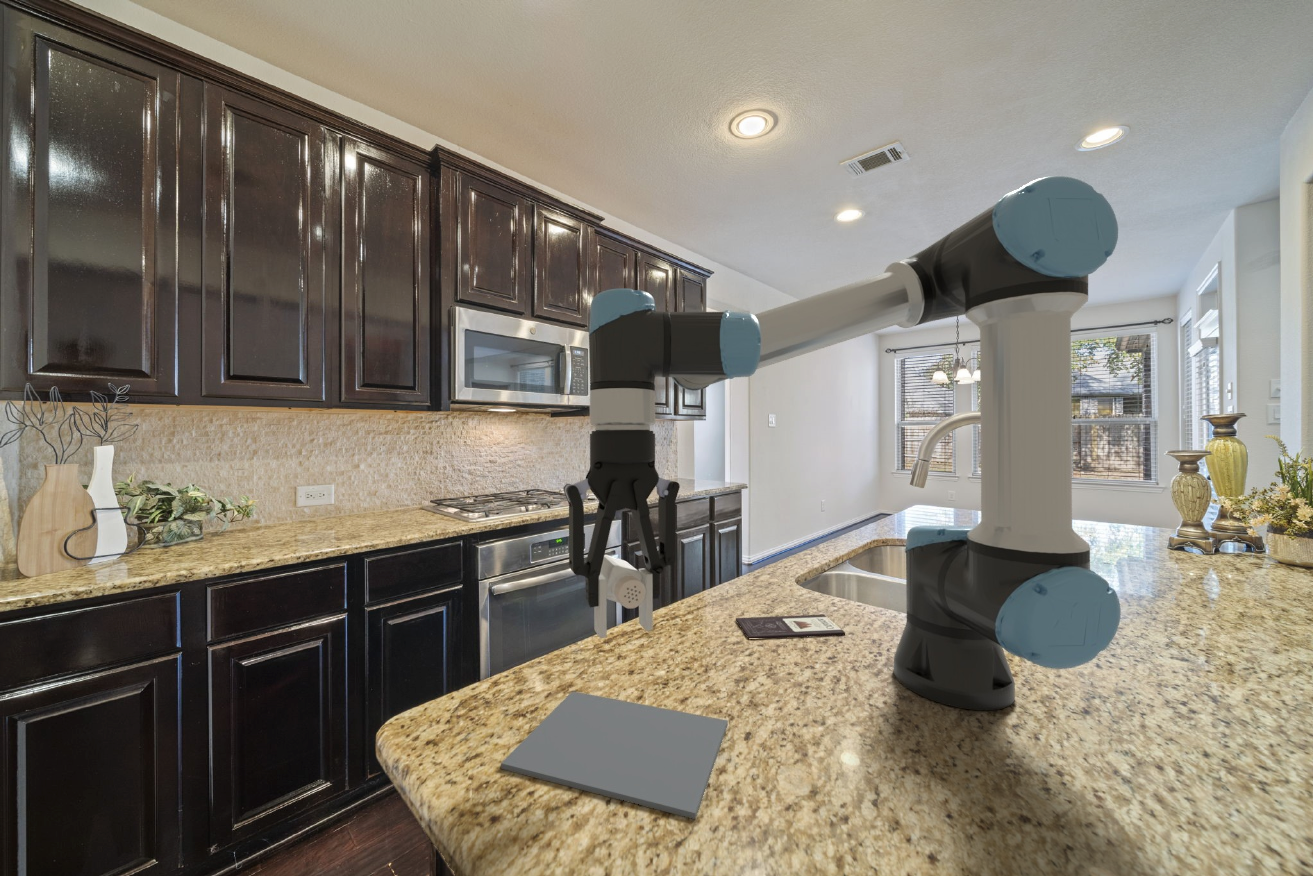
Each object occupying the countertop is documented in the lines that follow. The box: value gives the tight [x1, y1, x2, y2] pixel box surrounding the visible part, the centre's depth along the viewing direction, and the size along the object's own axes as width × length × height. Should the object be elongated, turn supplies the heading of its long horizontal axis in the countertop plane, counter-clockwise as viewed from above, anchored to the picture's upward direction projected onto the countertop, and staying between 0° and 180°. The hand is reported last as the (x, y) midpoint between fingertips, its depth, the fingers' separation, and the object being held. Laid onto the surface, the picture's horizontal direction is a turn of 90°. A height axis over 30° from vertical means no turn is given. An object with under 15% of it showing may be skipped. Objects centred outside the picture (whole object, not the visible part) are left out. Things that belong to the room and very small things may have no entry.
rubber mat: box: [500, 690, 729, 820], centre depth 58 cm, size 22×16×1 cm
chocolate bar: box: [735, 614, 846, 639], centre depth 93 cm, size 9×1×18 cm
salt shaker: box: [600, 554, 646, 609], centre depth 58 cm, size 4×4×10 cm
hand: (623, 629), depth 57 cm, fingers closed on salt shaker, 5 cm apart
